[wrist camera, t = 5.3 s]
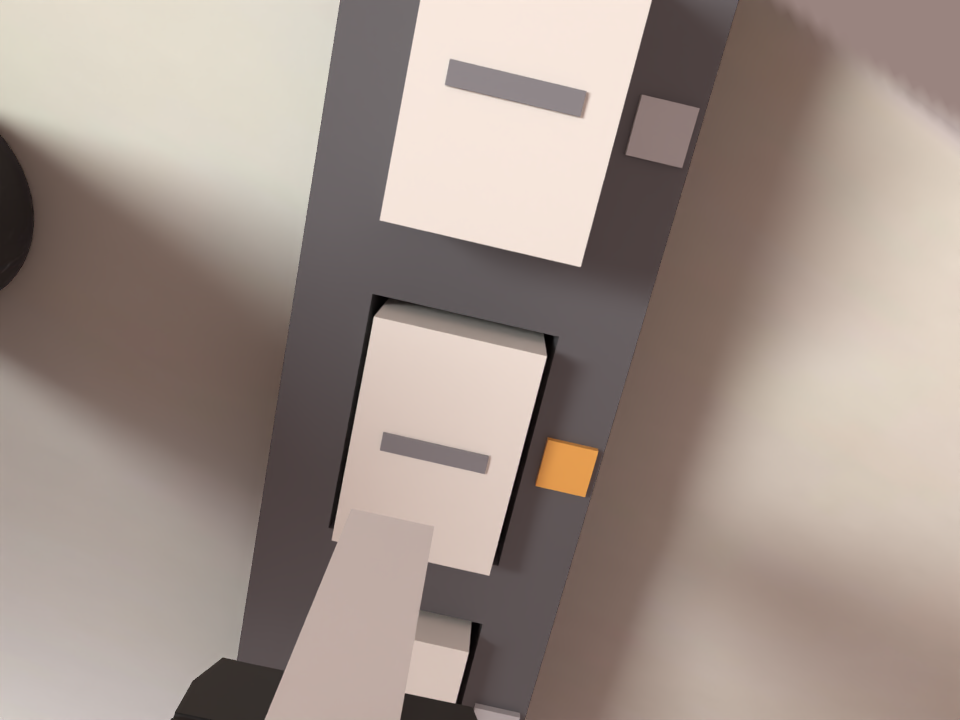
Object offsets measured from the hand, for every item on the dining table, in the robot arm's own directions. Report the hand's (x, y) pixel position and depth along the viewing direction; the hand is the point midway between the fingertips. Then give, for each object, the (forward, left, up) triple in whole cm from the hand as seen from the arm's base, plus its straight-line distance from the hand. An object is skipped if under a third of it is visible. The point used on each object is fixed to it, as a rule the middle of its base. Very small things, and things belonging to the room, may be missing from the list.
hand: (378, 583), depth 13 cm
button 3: (0, +9, -9) cm, 13 cm away
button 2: (0, 0, -11) cm, 11 cm away
